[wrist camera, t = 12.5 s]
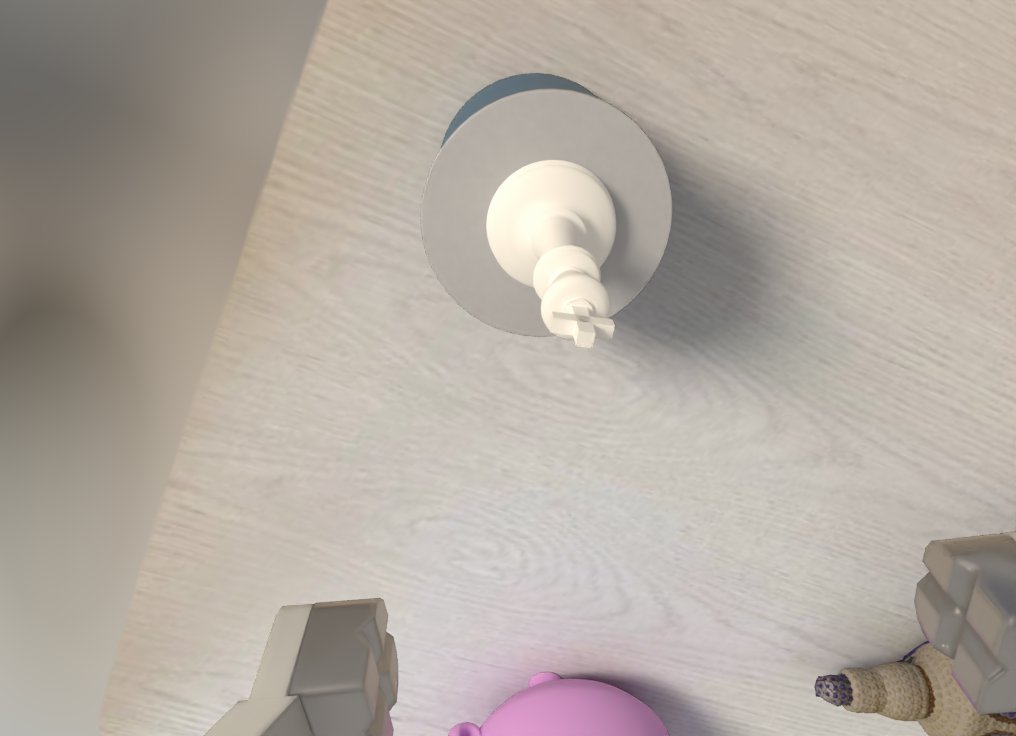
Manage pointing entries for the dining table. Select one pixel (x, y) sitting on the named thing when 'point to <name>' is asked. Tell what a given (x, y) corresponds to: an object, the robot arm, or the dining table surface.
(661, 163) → the yogurt tub
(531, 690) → the teapot
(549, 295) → the chess piece
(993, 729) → the decorative bottle
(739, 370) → the dining table surface
